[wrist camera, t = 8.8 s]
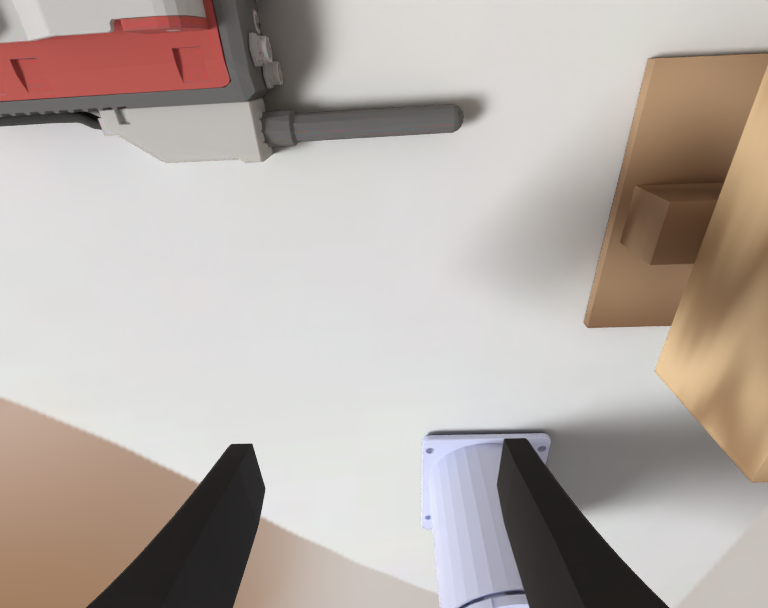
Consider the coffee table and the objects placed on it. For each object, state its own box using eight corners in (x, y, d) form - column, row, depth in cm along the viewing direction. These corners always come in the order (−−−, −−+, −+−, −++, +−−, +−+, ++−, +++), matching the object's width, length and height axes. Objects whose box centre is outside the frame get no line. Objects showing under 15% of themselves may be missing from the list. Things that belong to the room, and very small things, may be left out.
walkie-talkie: (12, 167, 18) (457, 141, 18) (-87, 193, 15) (476, 162, 14) (-120, -97, 14) (466, -145, 13) (-311, -159, 10) (498, -231, 9)
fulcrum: (738, 318, 21) (786, 353, 19) (583, 322, 22) (610, 357, 19) (864, 48, 15) (960, 44, 13) (648, 58, 16) (699, 56, 13)
